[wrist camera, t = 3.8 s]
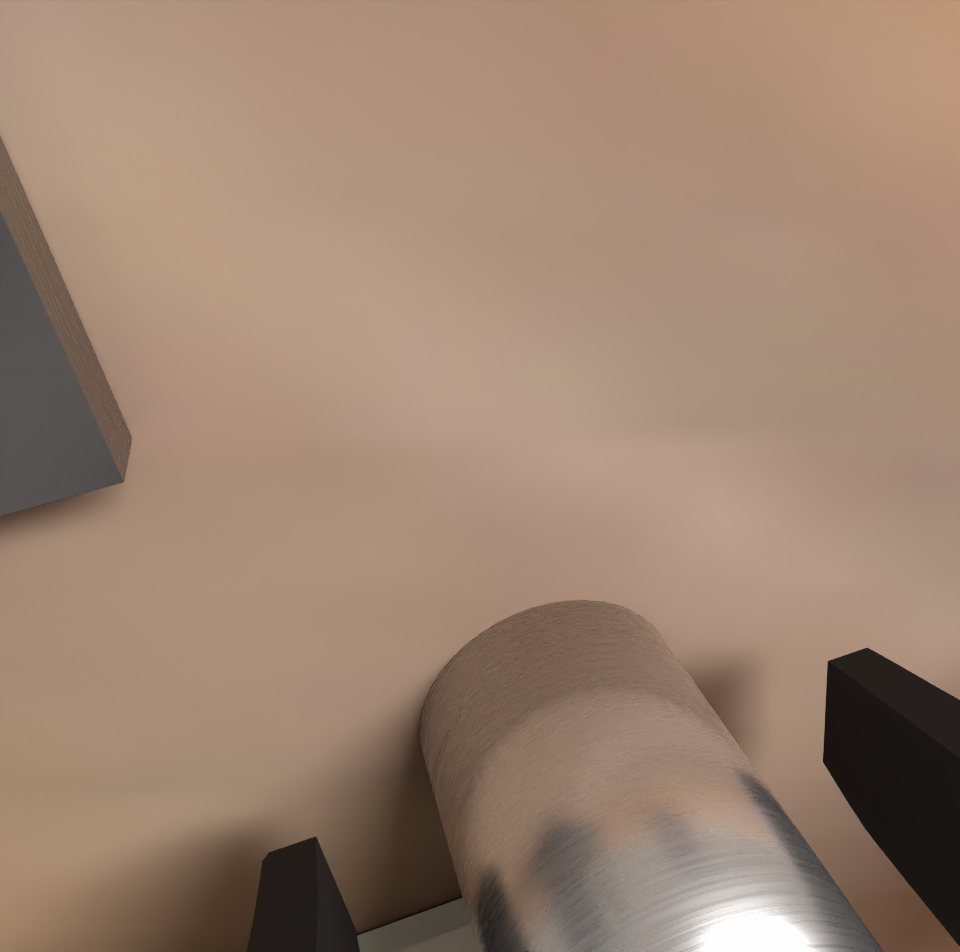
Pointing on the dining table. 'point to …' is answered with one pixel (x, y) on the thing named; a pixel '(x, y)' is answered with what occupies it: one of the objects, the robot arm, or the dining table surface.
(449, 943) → the parts tray
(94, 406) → the grey unit
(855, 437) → the dining table surface
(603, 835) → the steel cylinder
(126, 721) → the dining table surface
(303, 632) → the dining table surface
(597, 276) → the dining table surface
